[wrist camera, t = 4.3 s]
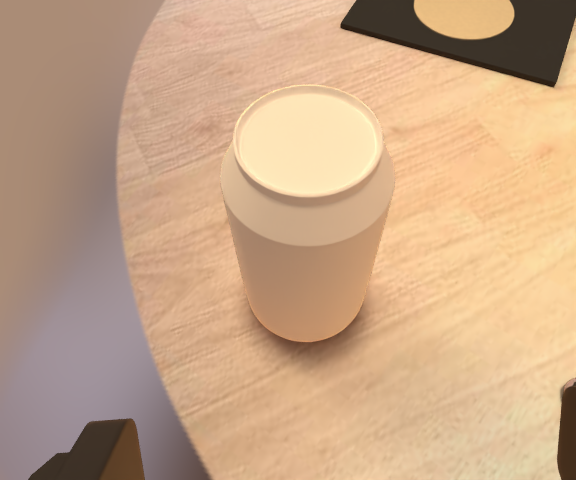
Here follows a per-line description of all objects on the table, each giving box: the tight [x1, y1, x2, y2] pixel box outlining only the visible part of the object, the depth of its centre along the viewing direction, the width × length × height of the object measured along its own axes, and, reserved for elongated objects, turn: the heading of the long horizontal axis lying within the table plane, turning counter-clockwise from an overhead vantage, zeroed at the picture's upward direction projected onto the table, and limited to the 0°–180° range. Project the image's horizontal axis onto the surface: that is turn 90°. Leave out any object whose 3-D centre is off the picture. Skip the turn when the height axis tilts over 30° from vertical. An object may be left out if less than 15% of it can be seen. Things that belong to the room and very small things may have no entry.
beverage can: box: [220, 84, 395, 342], centre depth 21 cm, size 6×6×12 cm
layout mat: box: [341, 0, 576, 87], centre depth 38 cm, size 16×11×1 cm
